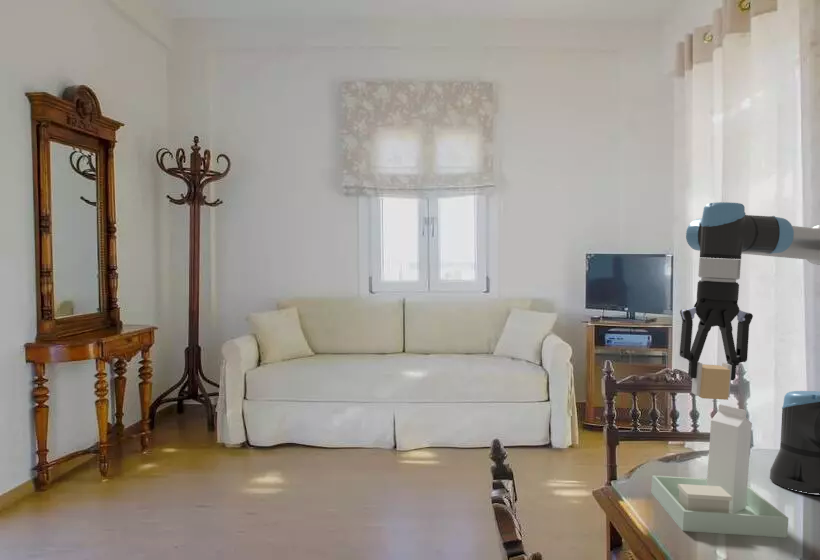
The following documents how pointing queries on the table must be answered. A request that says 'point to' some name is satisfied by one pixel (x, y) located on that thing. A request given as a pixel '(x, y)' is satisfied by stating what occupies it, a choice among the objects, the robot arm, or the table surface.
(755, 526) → the tray
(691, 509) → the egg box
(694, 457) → the table surface
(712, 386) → the box
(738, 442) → the milk
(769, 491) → the table surface
